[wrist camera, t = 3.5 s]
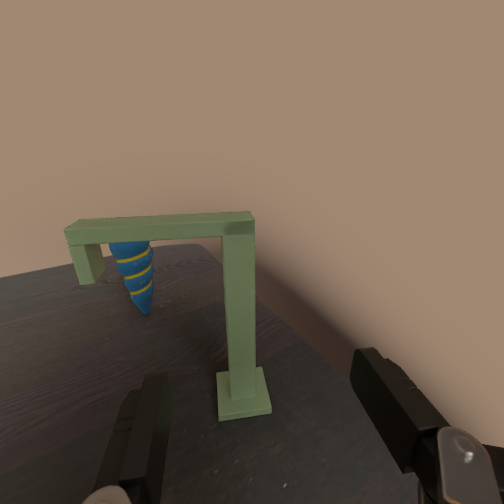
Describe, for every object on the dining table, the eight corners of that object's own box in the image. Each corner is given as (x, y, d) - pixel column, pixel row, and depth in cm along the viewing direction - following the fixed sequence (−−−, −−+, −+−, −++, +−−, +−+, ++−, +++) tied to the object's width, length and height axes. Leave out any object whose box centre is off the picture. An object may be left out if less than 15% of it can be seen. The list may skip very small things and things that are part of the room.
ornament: (169, 315, 40) (154, 217, 34) (135, 331, 36) (111, 226, 30) (153, 301, 43) (137, 210, 37) (121, 314, 40) (97, 217, 34)
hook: (261, 371, 30) (262, 206, 22) (271, 413, 25) (277, 223, 18) (131, 389, 28) (86, 214, 20) (116, 437, 23) (51, 235, 16)
